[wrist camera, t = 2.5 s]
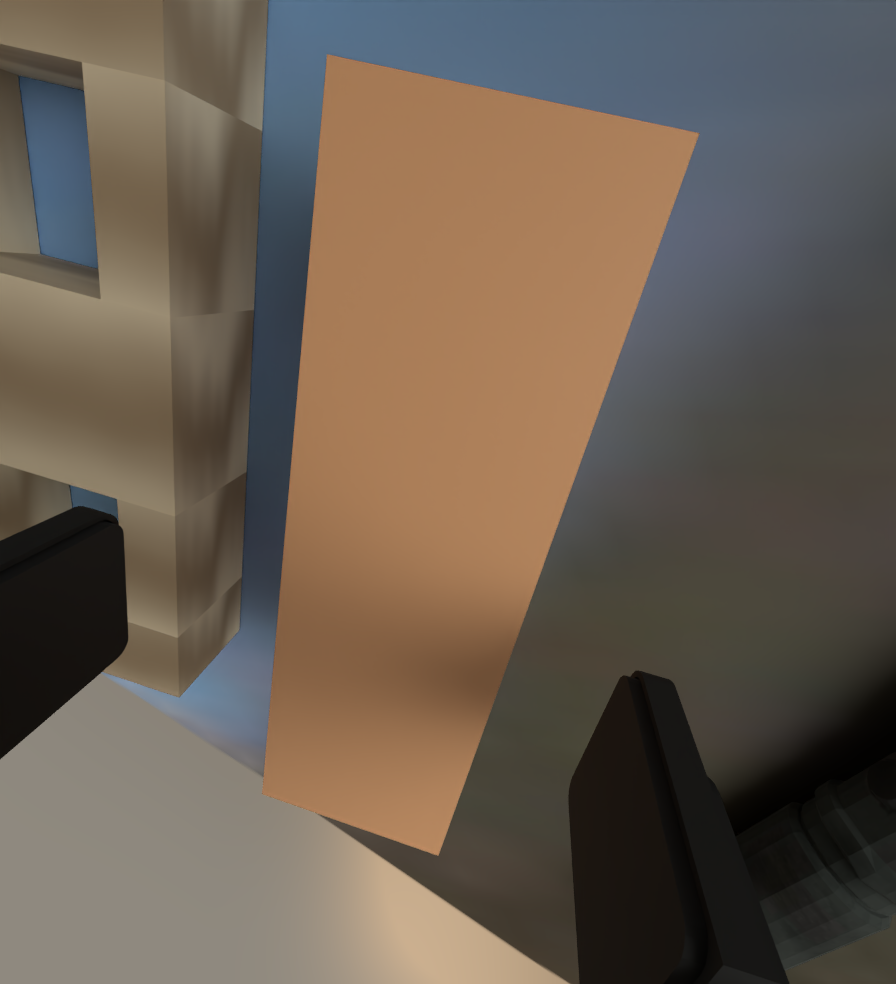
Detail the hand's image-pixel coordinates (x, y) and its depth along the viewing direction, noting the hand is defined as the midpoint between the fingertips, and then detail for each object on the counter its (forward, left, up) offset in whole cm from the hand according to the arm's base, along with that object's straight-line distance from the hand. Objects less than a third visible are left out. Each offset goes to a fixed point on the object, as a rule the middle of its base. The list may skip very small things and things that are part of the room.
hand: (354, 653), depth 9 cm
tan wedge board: (-1, 0, -9) cm, 9 cm away
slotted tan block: (-1, -13, -9) cm, 16 cm away
